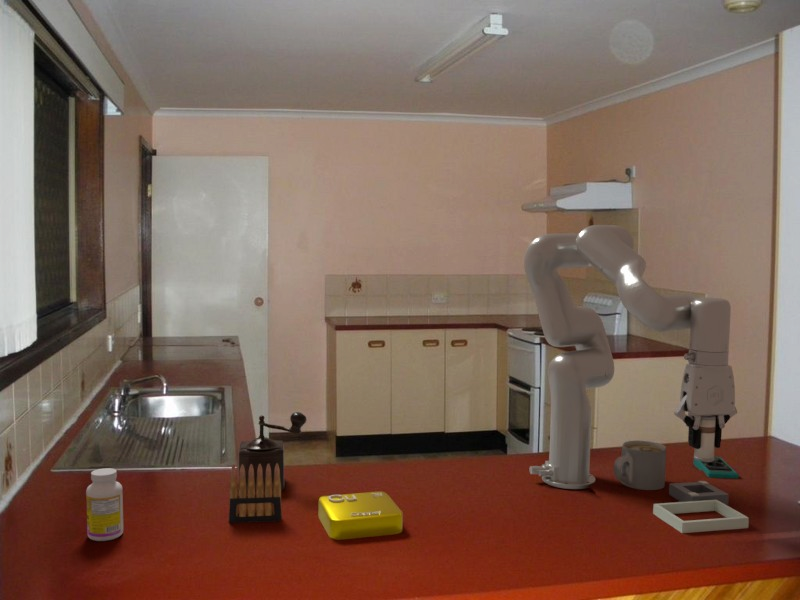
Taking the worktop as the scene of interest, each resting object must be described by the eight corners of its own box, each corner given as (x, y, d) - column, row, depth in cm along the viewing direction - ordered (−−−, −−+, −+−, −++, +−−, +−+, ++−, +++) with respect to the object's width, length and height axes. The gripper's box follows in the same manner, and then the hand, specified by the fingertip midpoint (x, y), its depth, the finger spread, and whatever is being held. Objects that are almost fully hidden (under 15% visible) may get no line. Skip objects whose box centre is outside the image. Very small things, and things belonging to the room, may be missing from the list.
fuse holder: (691, 512, 177) (692, 495, 177) (668, 498, 186) (669, 482, 186) (727, 509, 179) (728, 493, 179) (704, 496, 188) (704, 480, 188)
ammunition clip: (281, 517, 171) (281, 461, 169) (281, 521, 169) (281, 464, 168) (229, 519, 169) (229, 463, 168) (228, 523, 167) (228, 465, 166)
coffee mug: (649, 479, 200) (651, 439, 199) (672, 492, 190) (675, 450, 189) (600, 483, 197) (601, 442, 196) (621, 496, 187) (623, 453, 186)
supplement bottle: (95, 528, 163) (94, 465, 162) (128, 529, 163) (127, 466, 161) (81, 542, 156) (79, 476, 155) (115, 542, 156) (114, 477, 155)
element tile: (331, 542, 159) (331, 518, 158) (316, 515, 173) (316, 493, 173) (405, 535, 163) (405, 512, 163) (384, 509, 177) (385, 488, 177)
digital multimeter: (721, 466, 213) (721, 455, 213) (739, 484, 198) (739, 472, 198) (692, 465, 214) (692, 454, 213) (708, 483, 199) (708, 471, 199)
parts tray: (681, 537, 163) (682, 522, 163) (652, 518, 174) (653, 503, 173) (748, 532, 166) (748, 517, 166) (715, 513, 177) (716, 499, 177)
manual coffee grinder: (237, 494, 185) (237, 416, 183) (239, 478, 196) (239, 404, 194) (306, 491, 187) (307, 414, 185) (304, 476, 198) (305, 403, 196)
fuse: (700, 462, 166) (702, 417, 165) (690, 456, 170) (691, 413, 169) (717, 461, 167) (720, 416, 166) (706, 455, 171) (708, 412, 170)
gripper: (681, 362, 161) (677, 453, 163) (756, 360, 165) (751, 449, 166) (661, 356, 168) (658, 443, 170) (733, 354, 172) (729, 440, 174)
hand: (704, 445), depth 168 cm, fingers closed on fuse, 3 cm apart
